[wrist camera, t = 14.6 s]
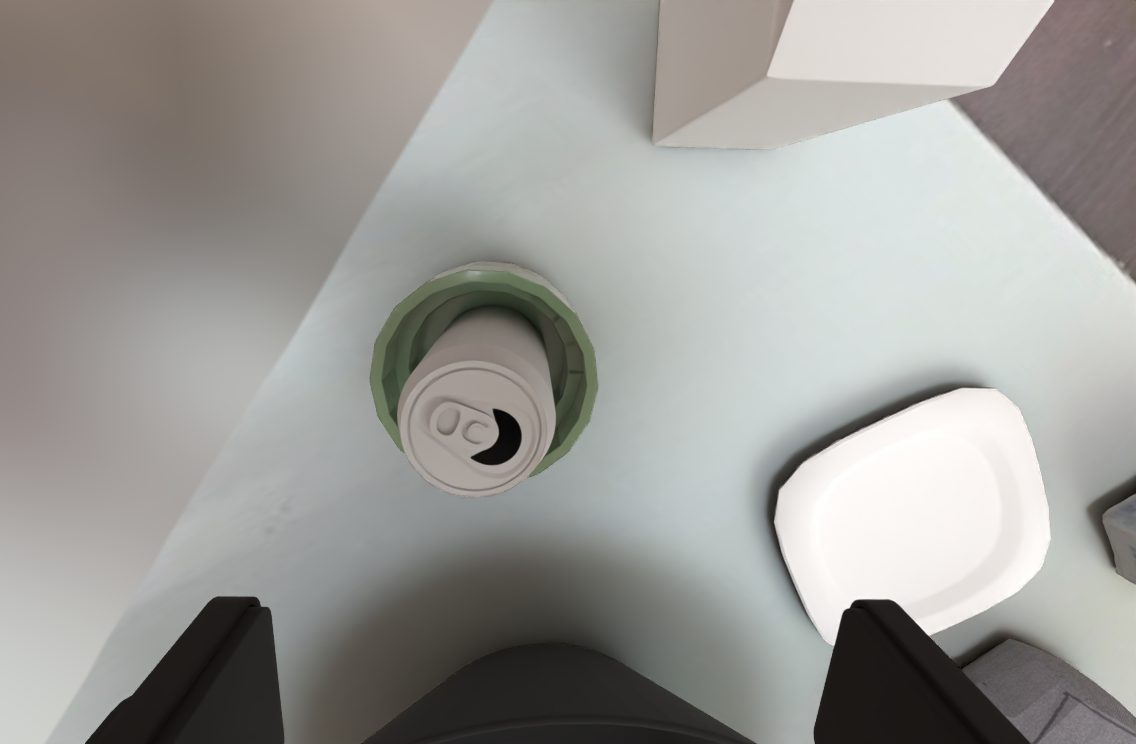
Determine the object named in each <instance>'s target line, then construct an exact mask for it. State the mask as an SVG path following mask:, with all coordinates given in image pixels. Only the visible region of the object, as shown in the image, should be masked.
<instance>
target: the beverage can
mask: <svg viewBox="0 0 1136 744" xmlns="http://www.w3.org/2000/svg"><path fill="white" fill-rule="evenodd" d="M397 419H398V428H399V432H400V436H401V442H402V446H403V449H404V451H405V454H406V456H407V458H408V460H409V462H410V463H411V465H412V466H413V467H414V469H415V470H416V471H417V472H418V473H419V474H420V475H421V476H422V477H423V478H424V479H425V480H426V481H428V482H429V483H430V484H432V485H434V486H435V487H437V488H439V489H441V490H443V491H445V492H448V493H451V494H454V495H458V496H464V497H486V496H492V495H496V494H499V493H502V492H505V491H507V490H509V489H511V488H513V487H514V486H516V485H517V484H519V483H520V482H522V481H523V480H524V479H526V478H527V477H528V476H529V475H530V474H531V472H532V471H533V470H534V469H535V468H536V466H537V465H538V464H539V463H540V461H541V460H542V459H543V457H544V456H545V454H546V453H547V451H548V449H549V447H550V444H551V442H552V439H553V436H554V431H555V425H556V412H555V405H554V398H553V392H552V385H551V379H550V372H549V366H548V359H547V353H546V347H545V344H544V341H543V339H542V337H541V335H540V333H539V332H538V330H537V329H536V327H535V326H534V325H533V324H532V323H531V322H530V321H529V320H528V319H527V318H526V317H524V316H523V315H521V314H519V313H518V312H516V311H514V310H511V309H508V308H504V307H499V306H482V307H477V308H474V309H471V310H468V311H466V312H464V313H462V314H461V315H459V316H458V317H456V318H455V319H454V320H453V321H452V322H451V323H450V324H449V325H448V326H447V328H446V329H445V330H444V332H443V333H442V334H441V335H440V337H439V338H438V339H437V341H436V342H435V343H434V345H433V346H432V347H431V349H430V350H429V351H428V353H427V354H426V355H425V357H424V358H423V359H422V361H421V362H420V363H419V365H418V366H417V367H416V368H415V370H414V371H413V372H412V374H411V375H410V376H409V378H408V380H407V381H406V383H405V385H404V387H403V389H402V392H401V395H400V399H399V403H398V411H397Z"/></svg>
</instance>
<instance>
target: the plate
mask: <svg viewBox="0 0 1136 744" xmlns="http://www.w3.org/2000/svg"><path fill="white" fill-rule="evenodd" d="M773 522H774V526H775V530H776V534H777V538H778V542H779V546H780V549H781V553H782V556H783V558H784V561H785V563H786V566H787V568H788V571H789V573H790V575H791V578H792V580H793V583H794V585H795V587H796V590H797V592H798V594H799V596H800V599H801V601H802V603H803V605H804V608H805V610H806V612H807V614H808V616H809V617H810V619H811V621H812V622H813V624H814V625H815V627H816V628H817V630H818V632H819V633H820V635H821V636H822V638H823V639H824V641H825V642H827V643H829V644H830V645H832V646H833V647H834V645H835V641H836V637H837V633H838V629H839V625H840V621H841V617H842V614H843V611H844V610H845V609H848V608H850V606H851V604H852V603H853V602H854V601H855V600H858V599H889V600H892V601H895V602H896V603H897V604H898V605H900V606H901V607H902V609H903V610H904V611H905V612H906V613H907V614H908V615H909V616H910V617H911V618H912V619H913V620H914V621H915V622H916V623H917V624H918V625H919V626H920V627H921V628H922V630H923V631H924V632H925V633H926V634H927V635H928V636H930V635H932V634H935V633H937V632H939V631H942V630H944V629H946V628H949V627H951V626H953V625H955V624H957V623H959V622H962V621H964V620H966V619H968V618H970V617H972V616H975V615H977V614H979V613H981V612H983V611H985V610H987V609H989V608H991V607H992V606H994V605H996V604H998V603H999V602H1001V601H1003V600H1005V599H1006V598H1008V597H1010V596H1011V595H1013V594H1015V593H1017V592H1018V591H1019V590H1020V589H1021V588H1022V587H1023V586H1024V585H1025V584H1026V583H1027V582H1028V581H1029V580H1030V579H1031V578H1032V577H1033V576H1034V575H1035V574H1036V573H1037V572H1038V571H1039V570H1040V569H1041V568H1042V565H1043V562H1044V559H1045V556H1046V553H1047V550H1048V547H1049V544H1050V541H1051V533H1050V521H1049V508H1048V503H1047V498H1046V494H1045V489H1044V485H1043V480H1042V476H1041V472H1040V468H1039V464H1038V460H1037V456H1036V452H1035V448H1034V444H1033V441H1032V438H1031V435H1030V433H1029V431H1028V428H1027V426H1026V423H1025V421H1024V419H1023V416H1022V414H1021V411H1020V409H1019V408H1018V407H1017V406H1016V405H1015V404H1014V403H1013V402H1011V401H1010V400H1009V399H1008V398H1007V397H1005V396H1004V395H1003V394H1002V393H1001V392H1000V391H998V390H997V389H995V388H968V387H959V388H956V389H953V390H951V391H948V392H945V393H942V394H939V395H936V396H933V397H930V398H927V399H924V400H921V401H919V402H916V403H914V404H912V405H910V406H908V407H905V408H903V409H901V410H899V411H897V412H895V413H892V414H890V415H888V416H886V417H884V418H881V419H879V420H877V421H875V422H873V423H871V424H869V425H867V426H865V427H863V428H861V429H859V430H856V431H854V432H852V433H850V434H848V435H846V436H844V437H842V438H840V439H838V440H836V441H835V442H833V443H831V444H830V445H828V446H827V447H825V448H823V449H822V450H820V451H818V452H817V453H815V454H813V455H812V456H810V457H809V458H807V459H805V460H804V461H802V462H801V463H800V464H799V465H798V467H797V468H796V469H795V470H794V471H793V472H792V474H791V475H790V476H789V477H788V478H787V479H786V481H785V482H784V483H783V484H782V485H781V486H780V488H779V489H778V494H777V500H776V506H775V513H774V519H773Z"/></svg>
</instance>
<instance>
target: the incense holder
mask: <svg viewBox="0 0 1136 744" xmlns="http://www.w3.org/2000/svg"><path fill="white" fill-rule="evenodd" d="M1102 518H1103V521H1102V522H1103V524H1104V527H1105V530H1106V532H1107V535H1108V537H1109V540H1110V543H1111V546H1112V549H1113V552H1114V555H1115V556H1114V560H1115V563H1116V573H1117V574H1118V575H1121V576H1122V577H1124V578H1125V579H1127V580H1128V581H1130V582H1132V583H1134V584H1136V494H1134V495H1132V496H1130V497H1128V498H1127V499H1125V500H1124V501H1122V502H1120V503H1118V504H1116V505H1115V506H1113V507H1111V508H1110V509H1108V510H1107V511H1106V512H1105V513H1104V514H1103V516H1102Z"/></svg>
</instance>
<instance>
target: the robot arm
mask: <svg viewBox="0 0 1136 744" xmlns="http://www.w3.org/2000/svg"><path fill="white" fill-rule="evenodd" d="M814 741H815V744H1031V743H1030V742H1029V741H1028V740H1027V739H1026V738H1025V737H1024V736H1023V734H1022V733H1021V732H1020V731H1019V730H1018V729H1017V728H1016V727H1015V726H1014V725H1013V724H1012V723H1011V722H1010V721H1009V720H1008V719H1007V718H1006V717H1005V716H1004V715H1003V713H1002V712H1001V711H1000V710H999V709H998V708H997V707H996V706H995V705H994V704H993V703H992V702H991V701H990V700H989V699H988V698H987V697H986V696H985V695H984V694H983V693H982V691H981V690H980V689H979V688H978V687H977V686H976V685H975V684H974V683H973V682H972V681H971V680H970V679H969V678H968V677H967V676H966V675H965V674H964V673H963V672H962V670H961V669H960V668H959V667H958V666H957V665H956V664H955V663H954V662H953V661H952V660H951V659H950V658H949V657H948V656H947V655H946V654H945V653H944V652H943V651H942V649H941V648H940V647H939V646H938V645H937V644H936V643H935V642H934V641H933V640H932V639H931V638H930V637H929V636H928V635H927V634H926V633H925V632H924V631H923V630H922V628H921V627H920V626H919V625H918V624H917V623H916V622H915V621H914V620H913V619H912V618H911V617H910V616H909V615H908V614H907V613H906V612H905V611H904V610H903V609H902V607H901V606H900V605H898V604H897V603H896V602H895V601H892V600H889V599H858V600H855V601H854V602H853V603H852V604H851V606H850V608H848V609H845V610H844V611H843V614H842V617H841V621H840V625H839V629H838V633H837V637H836V641H835V645H834V649H833V653H832V657H831V661H830V666H829V670H828V674H827V678H826V682H825V686H824V690H823V694H822V698H821V702H820V706H819V710H818V714H817V718H816V722H815V726H814ZM85 744H284V729H283V720H282V711H281V701H280V692H279V682H278V673H277V663H276V654H275V644H274V635H273V625H272V616H271V611H270V609H269V607H261V605H260V601H259V600H258V598H257V597H215V598H213V599H212V600H211V601H210V602H208V603H207V605H206V606H205V607H204V608H203V610H202V611H201V612H200V613H199V614H198V616H197V617H196V618H195V619H194V621H193V622H192V623H191V624H190V625H189V627H188V628H187V629H186V630H185V632H184V633H183V634H182V635H181V636H180V638H179V639H178V640H177V641H176V642H175V644H174V645H173V646H172V647H171V649H170V650H169V651H168V652H167V653H166V655H165V656H164V657H163V658H162V660H161V661H160V662H159V663H158V664H157V666H156V667H155V668H154V669H153V671H152V672H151V673H150V674H149V675H148V677H147V678H146V679H145V680H144V682H143V683H142V684H141V685H140V686H139V688H138V689H137V690H136V691H135V693H134V694H133V695H132V696H130V697H128V698H127V699H125V700H123V701H122V702H121V703H120V704H119V705H118V706H117V707H116V708H115V709H114V710H113V711H112V712H111V713H110V714H109V715H108V716H107V718H106V719H105V720H104V721H103V722H102V724H101V725H100V726H99V727H98V728H97V730H96V731H95V732H94V733H93V734H92V736H91V737H90V738H89V739H88V740H87V741H86V743H85Z"/></svg>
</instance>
